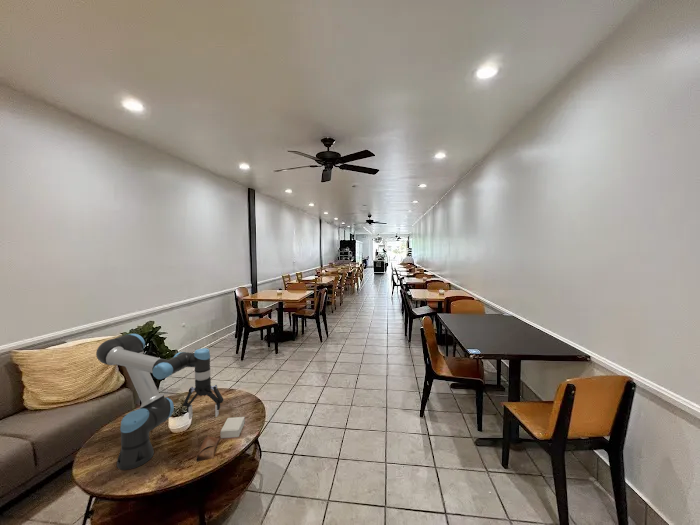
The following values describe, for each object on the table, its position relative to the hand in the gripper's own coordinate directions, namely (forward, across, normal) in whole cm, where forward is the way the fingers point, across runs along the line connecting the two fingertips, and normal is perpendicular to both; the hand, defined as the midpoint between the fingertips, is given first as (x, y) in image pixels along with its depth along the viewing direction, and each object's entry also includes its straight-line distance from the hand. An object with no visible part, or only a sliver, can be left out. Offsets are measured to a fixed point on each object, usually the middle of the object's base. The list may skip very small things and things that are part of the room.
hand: (203, 416), depth 155 cm
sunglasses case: (+18, -2, +1) cm, 18 cm away
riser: (+17, -11, -15) cm, 25 cm away
